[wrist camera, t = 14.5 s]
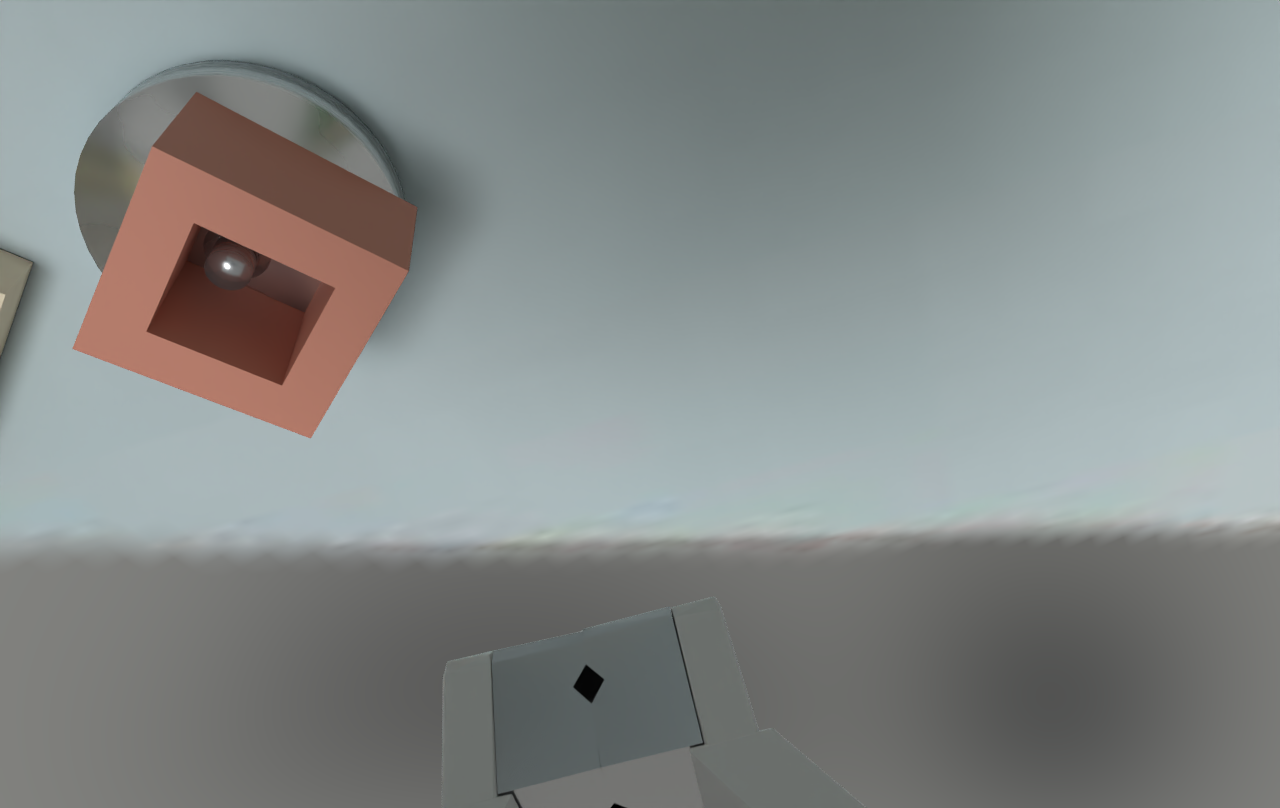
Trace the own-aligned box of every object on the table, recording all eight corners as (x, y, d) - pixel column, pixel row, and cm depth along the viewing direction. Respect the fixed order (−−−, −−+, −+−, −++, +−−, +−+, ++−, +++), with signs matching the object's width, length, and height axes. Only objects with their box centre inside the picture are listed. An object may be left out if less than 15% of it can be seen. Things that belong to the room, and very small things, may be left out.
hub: (55, 257, 27) (1, 323, 24) (150, -7, 23) (99, 32, 20) (336, 373, 31) (320, 443, 28) (457, 164, 27) (454, 218, 24)
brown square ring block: (122, 275, 26) (72, 348, 23) (196, 91, 23) (151, 146, 20) (329, 362, 29) (310, 438, 26) (417, 207, 26) (408, 270, 23)
